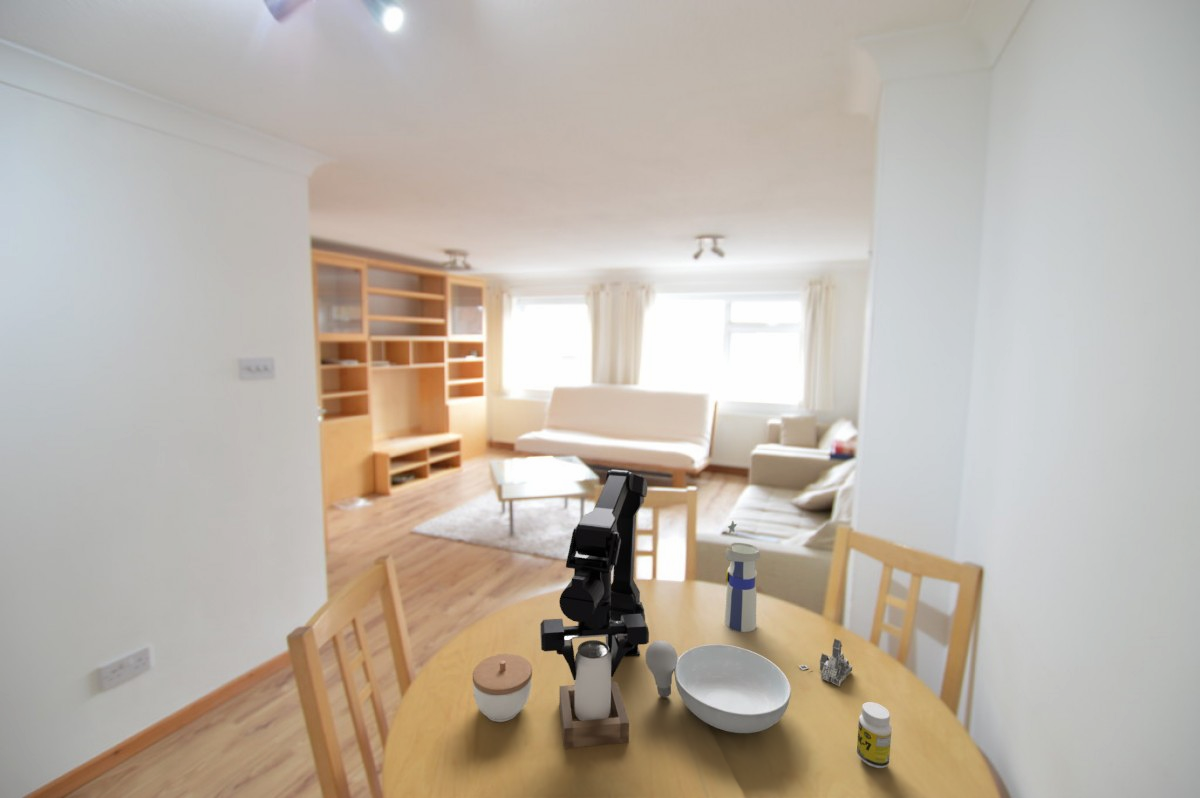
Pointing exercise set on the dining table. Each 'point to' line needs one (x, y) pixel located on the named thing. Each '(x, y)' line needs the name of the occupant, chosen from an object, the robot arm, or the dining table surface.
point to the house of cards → (834, 665)
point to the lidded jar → (502, 686)
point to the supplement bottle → (874, 735)
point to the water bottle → (741, 586)
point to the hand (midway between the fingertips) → (593, 677)
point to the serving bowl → (732, 687)
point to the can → (592, 681)
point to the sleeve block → (593, 722)
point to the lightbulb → (662, 665)
